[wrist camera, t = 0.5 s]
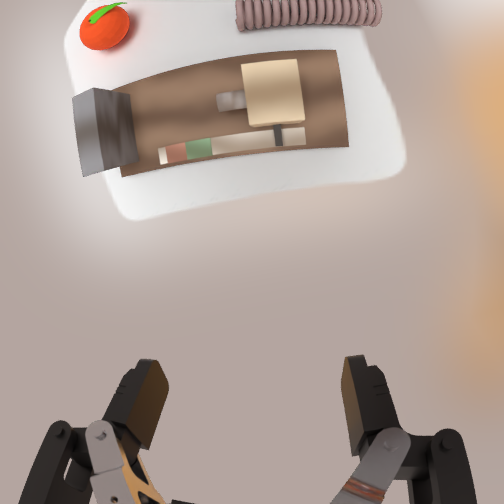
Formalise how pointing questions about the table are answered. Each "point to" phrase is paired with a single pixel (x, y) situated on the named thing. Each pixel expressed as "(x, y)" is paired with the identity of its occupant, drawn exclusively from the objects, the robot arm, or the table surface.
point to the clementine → (104, 27)
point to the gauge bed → (202, 116)
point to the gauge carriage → (268, 95)
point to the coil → (323, 3)
